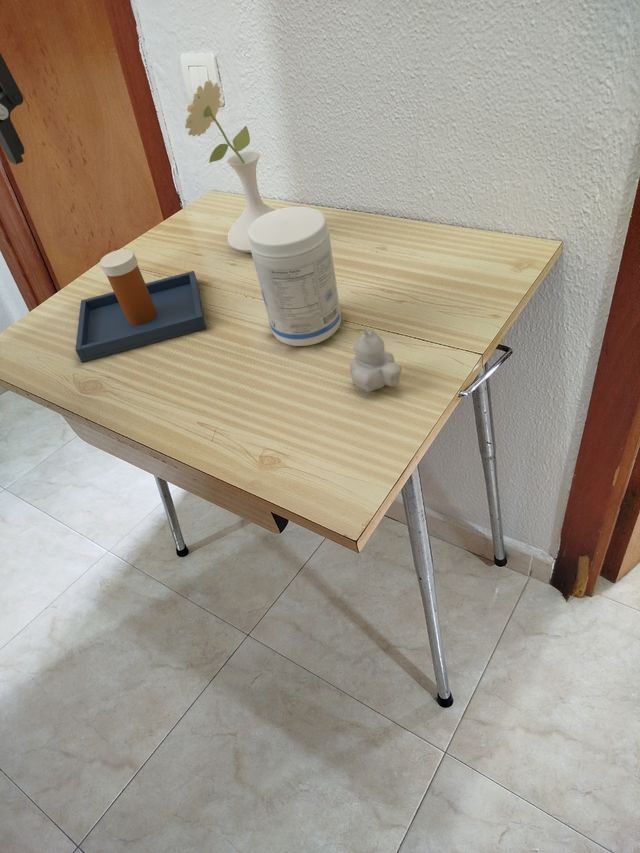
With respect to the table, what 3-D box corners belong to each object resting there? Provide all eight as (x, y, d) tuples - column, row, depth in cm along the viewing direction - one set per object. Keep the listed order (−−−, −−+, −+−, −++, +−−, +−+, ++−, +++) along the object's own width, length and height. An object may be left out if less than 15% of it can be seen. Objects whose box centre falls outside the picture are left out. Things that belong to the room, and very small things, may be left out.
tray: (81, 362, 81) (75, 350, 79) (86, 311, 91) (80, 300, 89) (206, 328, 82) (201, 316, 81) (197, 282, 92) (193, 270, 90)
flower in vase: (270, 220, 104) (234, 58, 86) (311, 237, 97) (280, 65, 79) (209, 251, 99) (157, 86, 81) (247, 271, 92) (200, 96, 74)
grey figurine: (367, 363, 71) (360, 307, 66) (414, 380, 68) (411, 322, 62) (340, 389, 68) (331, 333, 63) (388, 408, 65) (382, 351, 59)
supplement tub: (271, 313, 82) (246, 212, 72) (338, 301, 82) (323, 198, 72) (272, 355, 75) (245, 250, 65) (346, 342, 75) (330, 234, 65)
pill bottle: (126, 329, 84) (99, 270, 77) (126, 312, 87) (100, 254, 81) (158, 320, 84) (134, 260, 78) (157, 304, 88) (133, 245, 81)
